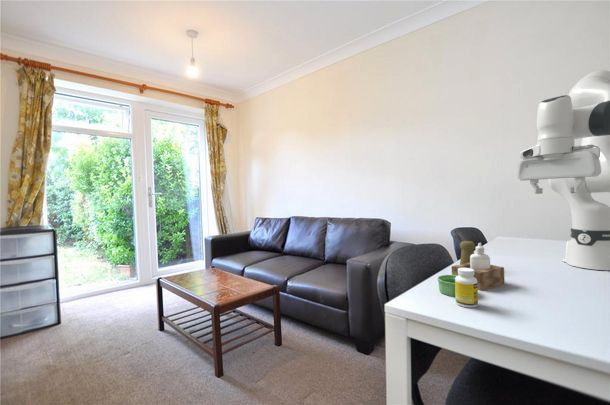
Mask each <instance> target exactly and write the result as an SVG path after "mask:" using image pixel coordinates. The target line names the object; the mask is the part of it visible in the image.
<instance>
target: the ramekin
mask: <svg viewBox="0 0 610 405" xmlns="http://www.w3.org/2000/svg"><path fill="white" fill-rule="evenodd" d="M456 276H458V275H452V274H443V275H438V277H437V282H438V289H439V292H440V293H441V294H442V295H445V296H448V297H453V298H456V297H455V278H456Z"/></svg>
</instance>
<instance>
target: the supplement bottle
mask: <svg viewBox="0 0 610 405" xmlns="http://www.w3.org/2000/svg"><path fill="white" fill-rule="evenodd" d="M458 274H459V276H456V278H455V297H454V298H455V304H456V305H458V306H460V307H463V308H468V309H470V308H476V307H478V305H479V298H478V297H479V296H478V294H479V293H478V292H479V290H478V283H477V279H476V278H475V277H473V276H474V270H473V269H471V268H458Z"/></svg>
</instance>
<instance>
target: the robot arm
mask: <svg viewBox="0 0 610 405" xmlns="http://www.w3.org/2000/svg"><path fill="white" fill-rule="evenodd" d="M536 111H537V113H536V131H537V139H536V145H534V146H531V147H529V148H527V149H524V150H522V151H520V152H519V158H520V160H519V161H518V163H517V164H518V165H517V179H518V180H520V182H521V181H529V182H530V185H531V187H532V188H533V189H534V194H535V195H538V194H539V195H540V194H543V190H544V189H543V188H541V187H540V185H538V184H539V182H540V181H539V180H547V182H548V185H549V188H550V189H551V190H552V191H554V192H555V193H557V194H558V195H560V196H561V197H563V199H564V200H565V201H566V203H567V205H568V206H569V208H570V210H569V211H570V213H571V214H570V215H571V228H570V231H569V233H570V237H571V239H569V240H568V241H566V248H565V257H562V258H561V261H562V262H564V263H566V264H568V265H570V266H573V267H577V268H583V269H587V270H596V271H610V206H609V205H607V204H605V203H603V202H599V201H597V200H595V199H594V198H593V196H592V193H593V194H594V193H610V71H609V70H606V69H599V70H595V71H592V72H590V73H587V74H586V75H584V76H583V77H582V78H581V79H580V80H578V81H577V82H576V83H575V84H574V85H573V86H572V88H571V89H570V90H569V93H568V94H567V95H565V94H564V95H560V96H556V97H551V98H548V99H543V100H542V101H541V102H539V104H538V106H537V110H536ZM579 139H581V141H580V145H577V146H575V140H579Z"/></svg>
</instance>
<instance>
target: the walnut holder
mask: <svg viewBox="0 0 610 405" xmlns="http://www.w3.org/2000/svg"><path fill="white" fill-rule="evenodd" d="M458 268H470V263H465V264H460V263H459V264H456V265H452V266H451V275H458V276H459V274H458ZM473 277H475V278H476V279H477V283H478V291H479V292H480V291H485V290H488V289H491V288H495V287H498V286H502V285H505V267H504V266H498V265H493V264H490V269H485V270H480V271H476V270H474V276H473Z"/></svg>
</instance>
